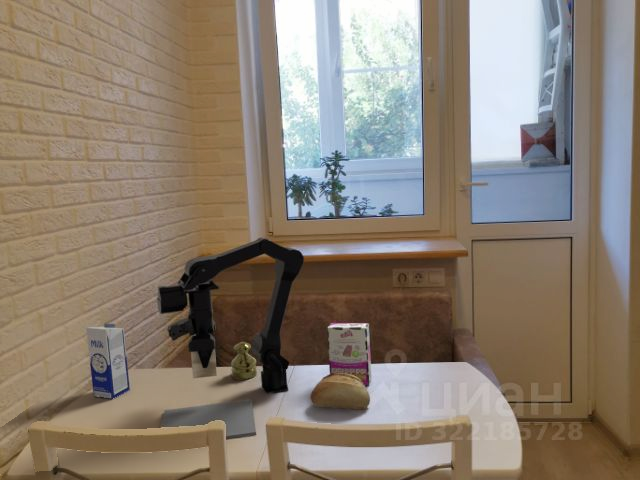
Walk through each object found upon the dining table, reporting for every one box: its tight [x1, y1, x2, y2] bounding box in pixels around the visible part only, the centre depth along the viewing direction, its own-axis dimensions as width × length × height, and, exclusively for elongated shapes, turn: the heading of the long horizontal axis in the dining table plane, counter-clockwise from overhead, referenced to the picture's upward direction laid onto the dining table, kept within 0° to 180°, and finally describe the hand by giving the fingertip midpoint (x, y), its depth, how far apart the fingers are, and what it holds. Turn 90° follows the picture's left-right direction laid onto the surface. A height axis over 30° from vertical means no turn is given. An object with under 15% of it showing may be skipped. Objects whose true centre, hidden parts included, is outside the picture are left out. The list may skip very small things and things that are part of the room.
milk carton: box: [85, 322, 131, 400], centre depth 146 cm, size 7×7×20 cm
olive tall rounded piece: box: [230, 341, 258, 380], centre depth 155 cm, size 7×7×10 cm
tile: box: [190, 348, 218, 379], centre depth 136 cm, size 6×2×8 cm, turn 101°
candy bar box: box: [326, 322, 372, 386], centre depth 146 cm, size 11×5×16 cm, turn 77°
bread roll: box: [310, 373, 371, 411], centre depth 132 cm, size 10×15×8 cm, turn 82°
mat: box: [160, 399, 257, 440], centre depth 127 cm, size 22×18×1 cm
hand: (205, 366), depth 136 cm, fingers closed on tile, 2 cm apart
